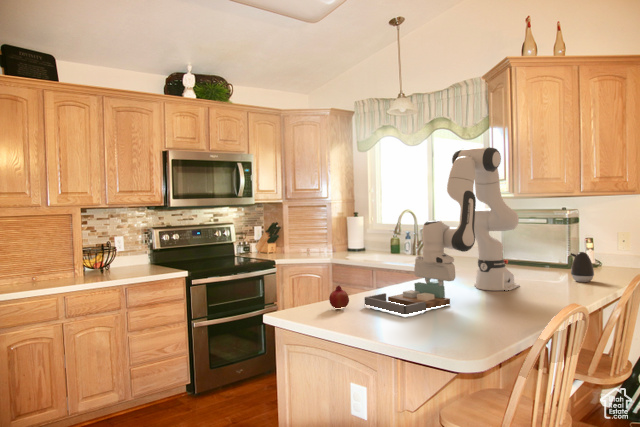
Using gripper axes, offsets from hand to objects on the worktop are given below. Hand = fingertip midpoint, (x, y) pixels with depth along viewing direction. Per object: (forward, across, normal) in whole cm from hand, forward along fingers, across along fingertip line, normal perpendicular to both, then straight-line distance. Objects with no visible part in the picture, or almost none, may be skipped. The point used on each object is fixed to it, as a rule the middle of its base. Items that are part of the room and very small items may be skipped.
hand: (434, 289), depth 193 cm
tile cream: (+2, +4, -10) cm, 11 cm away
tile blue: (+2, -4, -10) cm, 11 cm away
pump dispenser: (+5, +21, +89) cm, 92 cm away
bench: (+5, 0, -10) cm, 11 cm away
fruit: (+6, -16, -40) cm, 44 cm away
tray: (+5, 0, -24) cm, 25 cm away
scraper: (+2, 0, 0) cm, 2 cm away
